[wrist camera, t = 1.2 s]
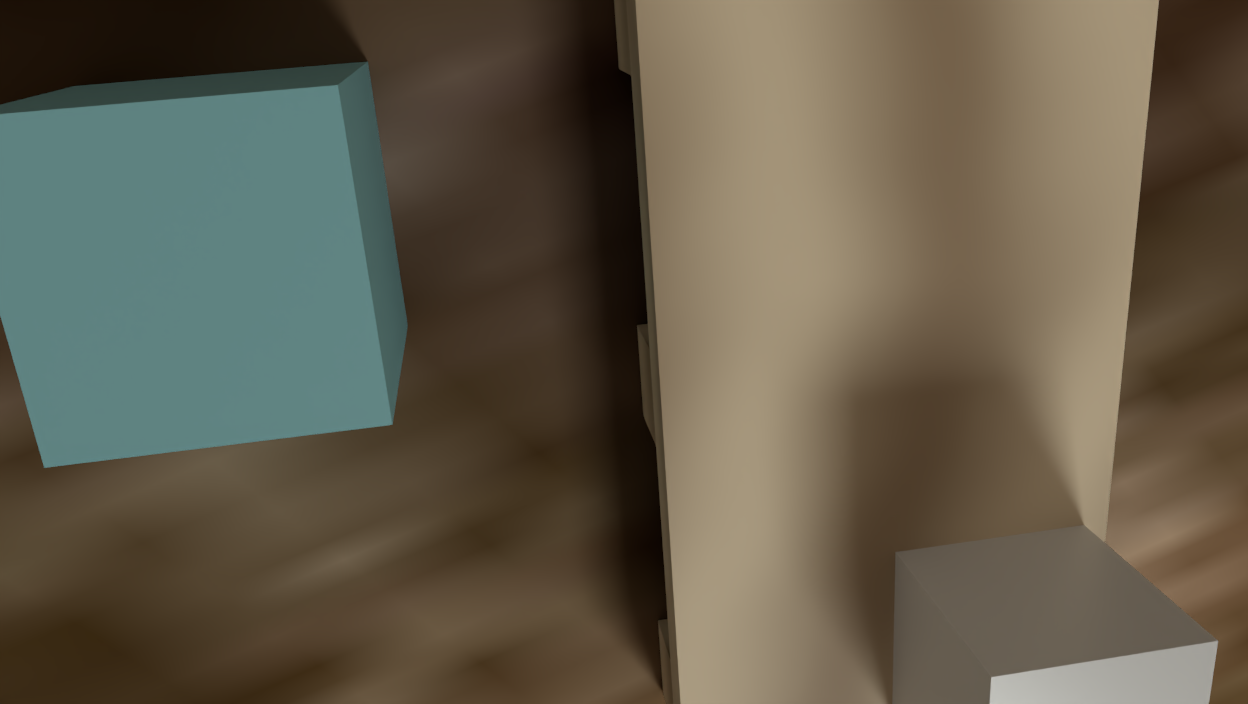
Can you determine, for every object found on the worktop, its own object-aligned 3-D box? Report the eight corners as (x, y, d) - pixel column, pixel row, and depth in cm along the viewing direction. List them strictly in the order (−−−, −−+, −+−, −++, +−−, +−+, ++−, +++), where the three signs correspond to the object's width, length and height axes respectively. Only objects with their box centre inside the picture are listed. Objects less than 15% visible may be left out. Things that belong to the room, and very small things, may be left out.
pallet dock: (663, 694, 24) (684, 770, 22) (610, -47, 19) (632, -52, 16) (1030, 636, 25) (1089, 703, 23) (1083, -83, 20) (1168, -91, 17)
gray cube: (891, 716, 22) (980, 866, 18) (895, 552, 21) (991, 677, 17) (1069, 688, 22) (1190, 827, 19) (1084, 525, 21) (1218, 641, 17)
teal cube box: (142, 355, 20) (44, 467, 15) (76, 85, 18) (-57, 118, 13) (407, 324, 20) (392, 424, 16) (368, 61, 19) (338, 84, 14)
